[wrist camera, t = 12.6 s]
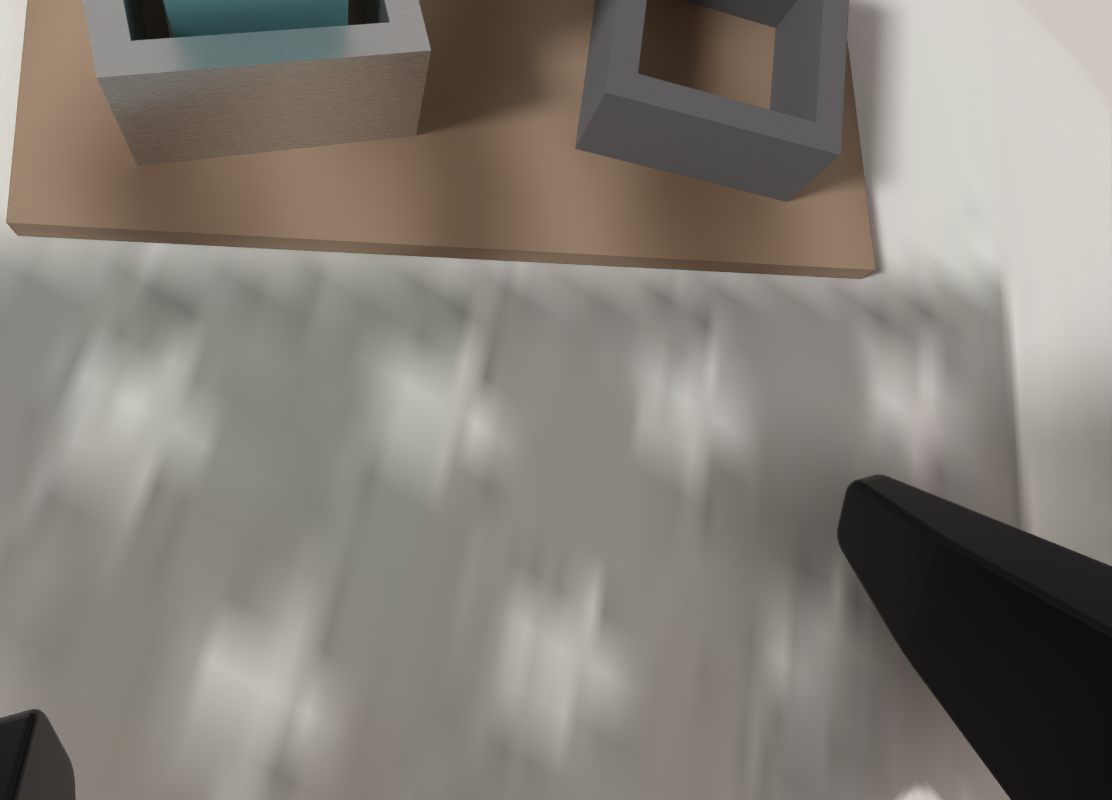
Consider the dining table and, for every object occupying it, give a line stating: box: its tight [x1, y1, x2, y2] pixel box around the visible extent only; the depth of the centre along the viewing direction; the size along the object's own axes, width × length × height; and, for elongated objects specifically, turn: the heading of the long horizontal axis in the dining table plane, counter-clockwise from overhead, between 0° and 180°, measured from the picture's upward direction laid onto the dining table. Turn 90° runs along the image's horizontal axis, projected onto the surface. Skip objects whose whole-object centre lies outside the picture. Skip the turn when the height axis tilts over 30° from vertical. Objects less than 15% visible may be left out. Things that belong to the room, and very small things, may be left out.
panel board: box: [6, 0, 876, 279], centre depth 26 cm, size 24×12×1 cm, turn 92°
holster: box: [575, 0, 849, 202], centre depth 25 cm, size 7×7×3 cm
